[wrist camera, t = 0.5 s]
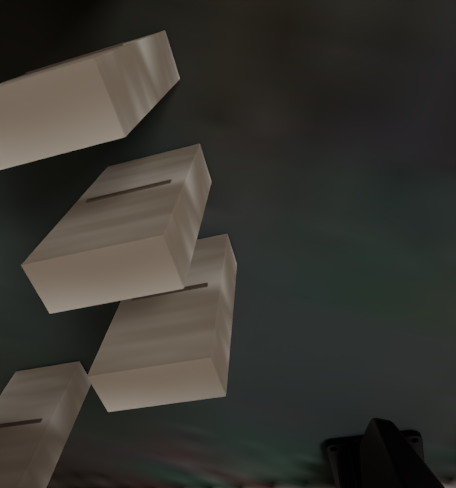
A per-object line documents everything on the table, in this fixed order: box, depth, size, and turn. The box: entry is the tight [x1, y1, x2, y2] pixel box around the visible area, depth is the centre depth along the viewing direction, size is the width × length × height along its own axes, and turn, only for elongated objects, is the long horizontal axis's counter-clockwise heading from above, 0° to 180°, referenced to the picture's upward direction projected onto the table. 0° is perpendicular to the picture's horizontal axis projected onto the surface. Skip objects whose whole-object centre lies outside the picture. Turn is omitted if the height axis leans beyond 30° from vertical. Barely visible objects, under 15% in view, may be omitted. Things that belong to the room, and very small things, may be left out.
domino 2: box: [21, 144, 211, 314], centre depth 18 cm, size 2×5×9 cm, turn 105°
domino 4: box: [0, 361, 91, 488], centre depth 25 cm, size 2×5×9 cm, turn 105°
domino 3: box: [87, 234, 237, 412], centre depth 20 cm, size 2×5×9 cm, turn 105°
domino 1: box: [0, 31, 180, 170], centre depth 15 cm, size 2×5×9 cm, turn 105°
